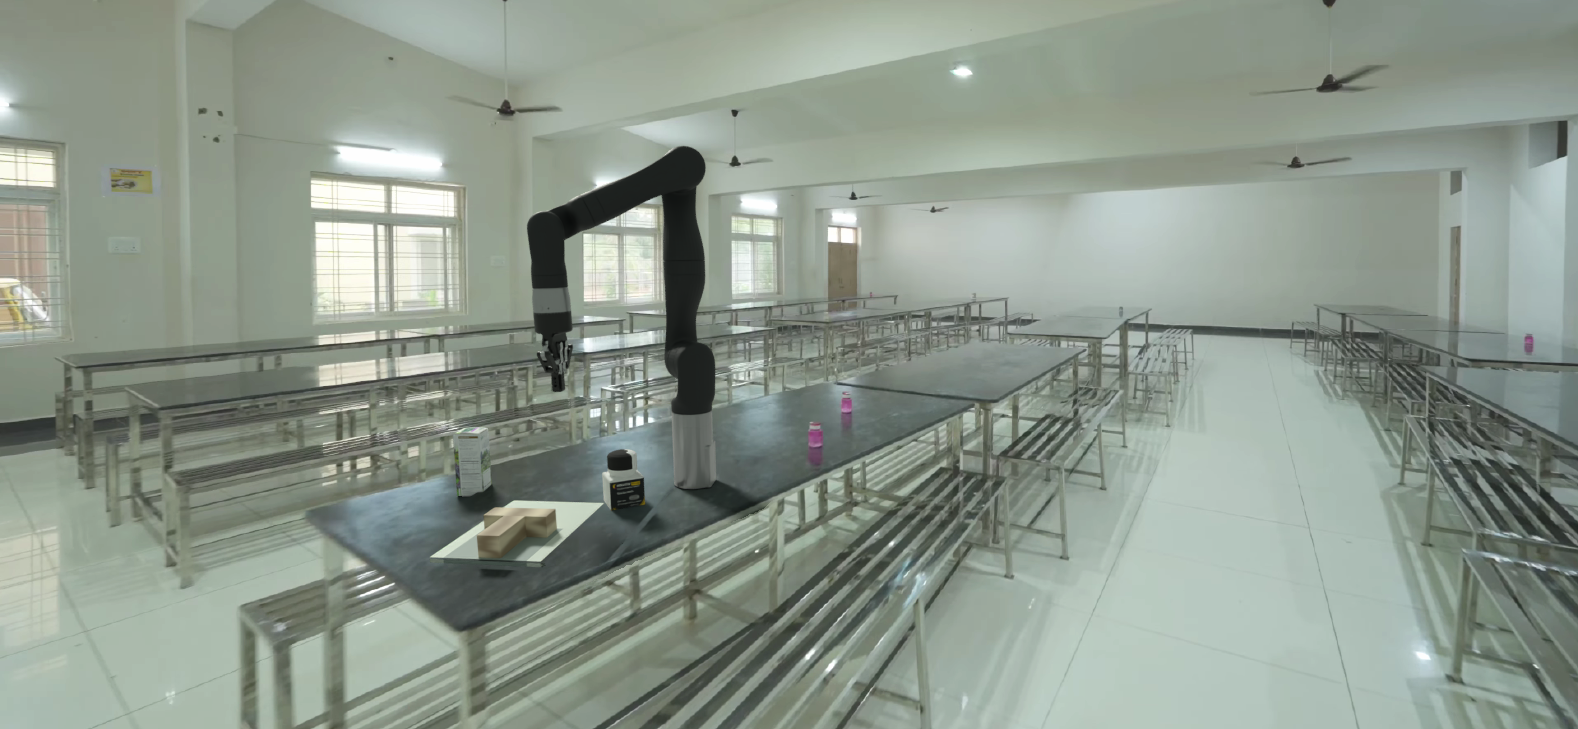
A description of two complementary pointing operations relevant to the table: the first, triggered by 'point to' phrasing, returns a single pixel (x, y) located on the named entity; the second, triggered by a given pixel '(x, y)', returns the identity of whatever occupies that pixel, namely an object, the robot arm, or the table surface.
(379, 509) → the table surface
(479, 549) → the wooden T-block
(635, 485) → the medicine bottle
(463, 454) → the syrup box
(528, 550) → the sage board
